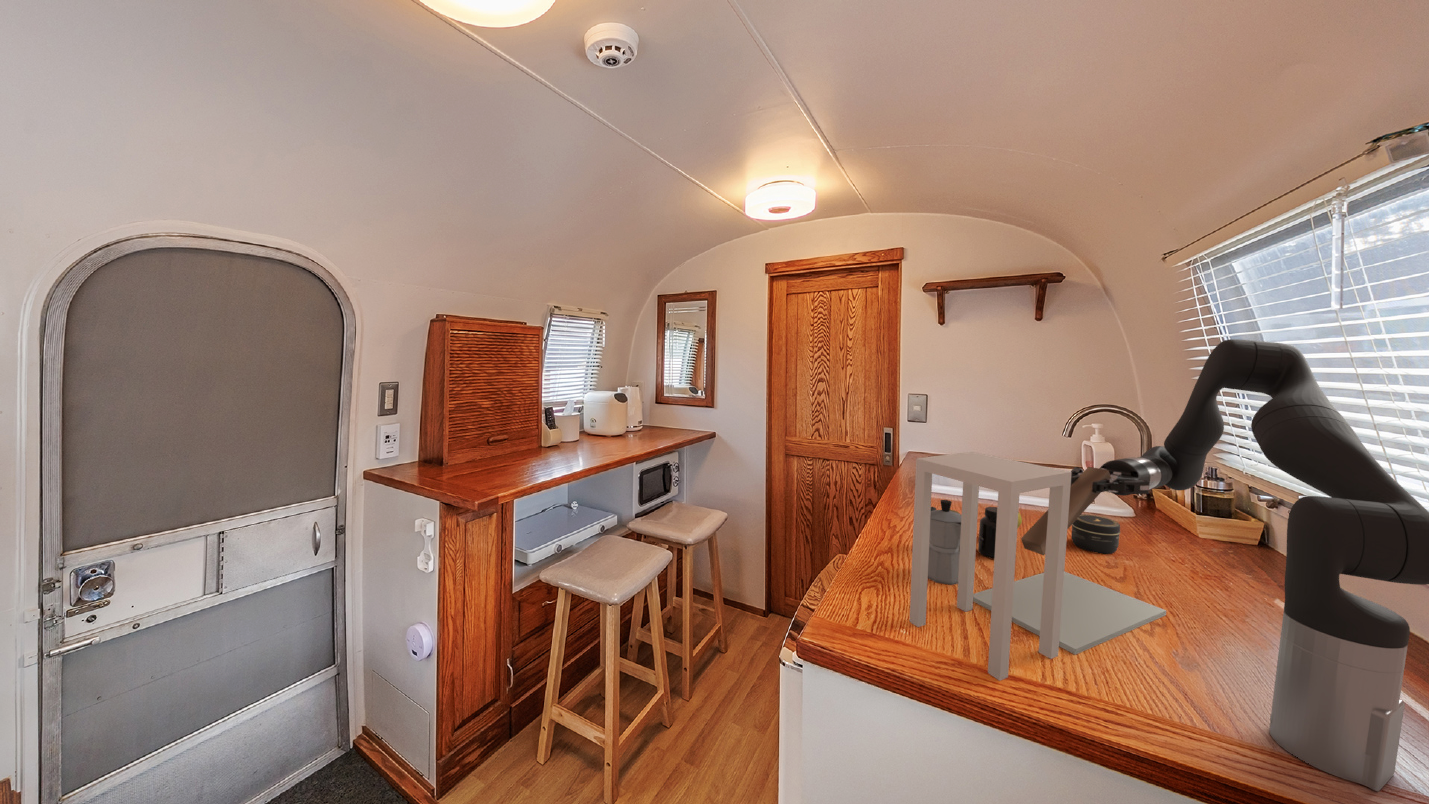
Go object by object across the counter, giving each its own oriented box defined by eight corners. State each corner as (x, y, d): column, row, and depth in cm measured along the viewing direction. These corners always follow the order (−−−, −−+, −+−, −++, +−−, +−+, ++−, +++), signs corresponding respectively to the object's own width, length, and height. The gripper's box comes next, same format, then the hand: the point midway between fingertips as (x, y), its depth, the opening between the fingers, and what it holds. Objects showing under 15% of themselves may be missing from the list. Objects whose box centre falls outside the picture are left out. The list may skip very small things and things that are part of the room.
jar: (1113, 544, 126) (1116, 517, 125) (1122, 558, 118) (1125, 529, 117) (1067, 537, 131) (1069, 511, 131) (1073, 550, 123) (1075, 522, 122)
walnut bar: (1111, 480, 94) (1108, 470, 94) (1043, 555, 87) (1040, 545, 87) (1091, 476, 98) (1088, 466, 97) (1024, 548, 91) (1020, 538, 90)
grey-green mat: (1165, 615, 92) (1166, 610, 91) (1075, 654, 79) (1075, 649, 79) (1056, 572, 110) (1057, 568, 110) (969, 599, 98) (969, 594, 98)
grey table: (1058, 655, 79) (1071, 471, 76) (999, 680, 73) (1011, 481, 70) (963, 604, 95) (971, 451, 92) (909, 621, 89) (916, 458, 86)
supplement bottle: (971, 551, 122) (974, 507, 120) (989, 547, 124) (991, 503, 123) (997, 562, 115) (1000, 515, 114) (1014, 557, 118) (1017, 511, 117)
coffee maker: (980, 584, 104) (984, 506, 102) (951, 592, 101) (955, 511, 99) (927, 558, 118) (930, 489, 116) (900, 563, 115) (903, 492, 113)
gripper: (1093, 452, 107) (1046, 459, 100) (1174, 465, 94) (1126, 475, 87) (1090, 484, 107) (1044, 493, 100) (1170, 501, 94) (1123, 513, 87)
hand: (1082, 485), depth 94 cm, fingers closed on walnut bar, 3 cm apart
